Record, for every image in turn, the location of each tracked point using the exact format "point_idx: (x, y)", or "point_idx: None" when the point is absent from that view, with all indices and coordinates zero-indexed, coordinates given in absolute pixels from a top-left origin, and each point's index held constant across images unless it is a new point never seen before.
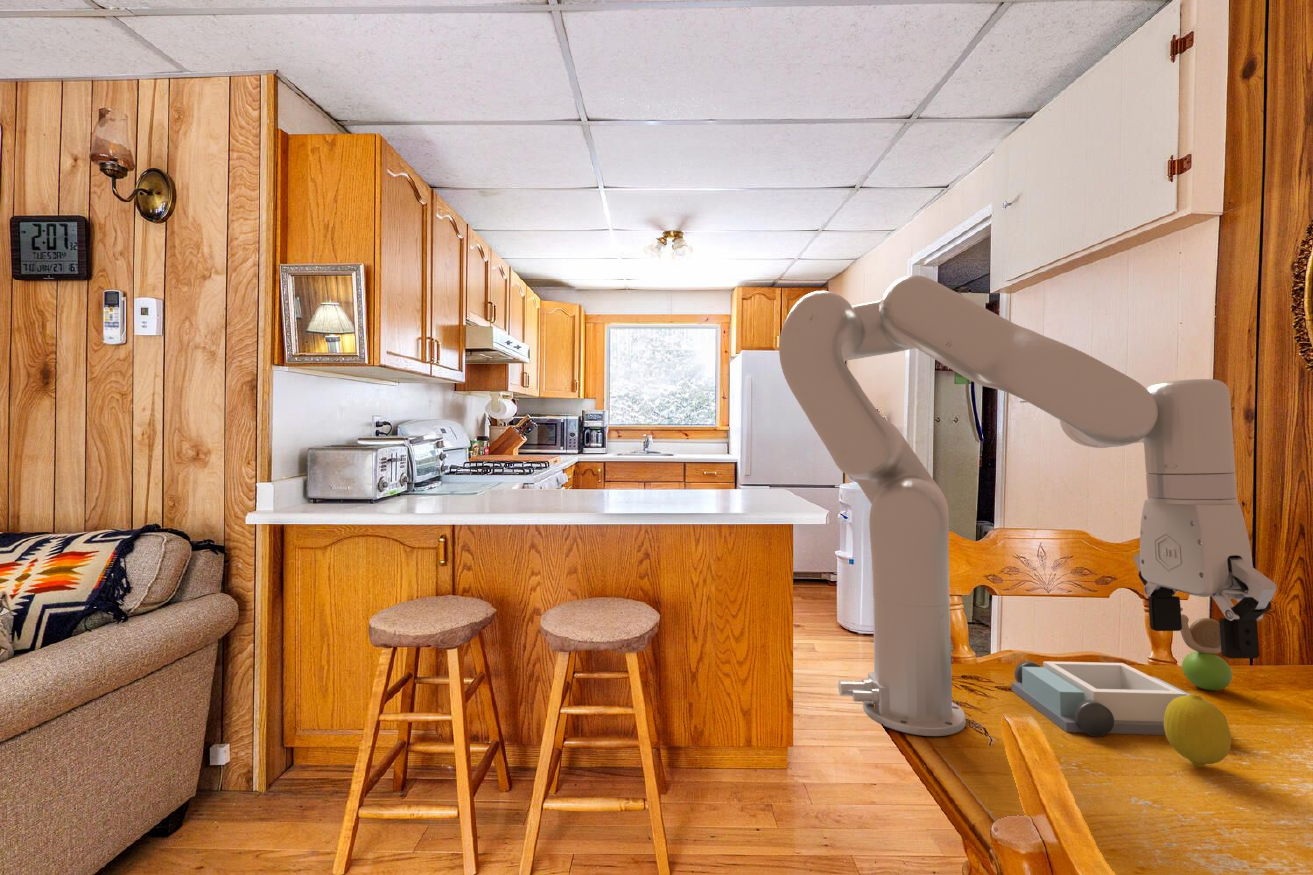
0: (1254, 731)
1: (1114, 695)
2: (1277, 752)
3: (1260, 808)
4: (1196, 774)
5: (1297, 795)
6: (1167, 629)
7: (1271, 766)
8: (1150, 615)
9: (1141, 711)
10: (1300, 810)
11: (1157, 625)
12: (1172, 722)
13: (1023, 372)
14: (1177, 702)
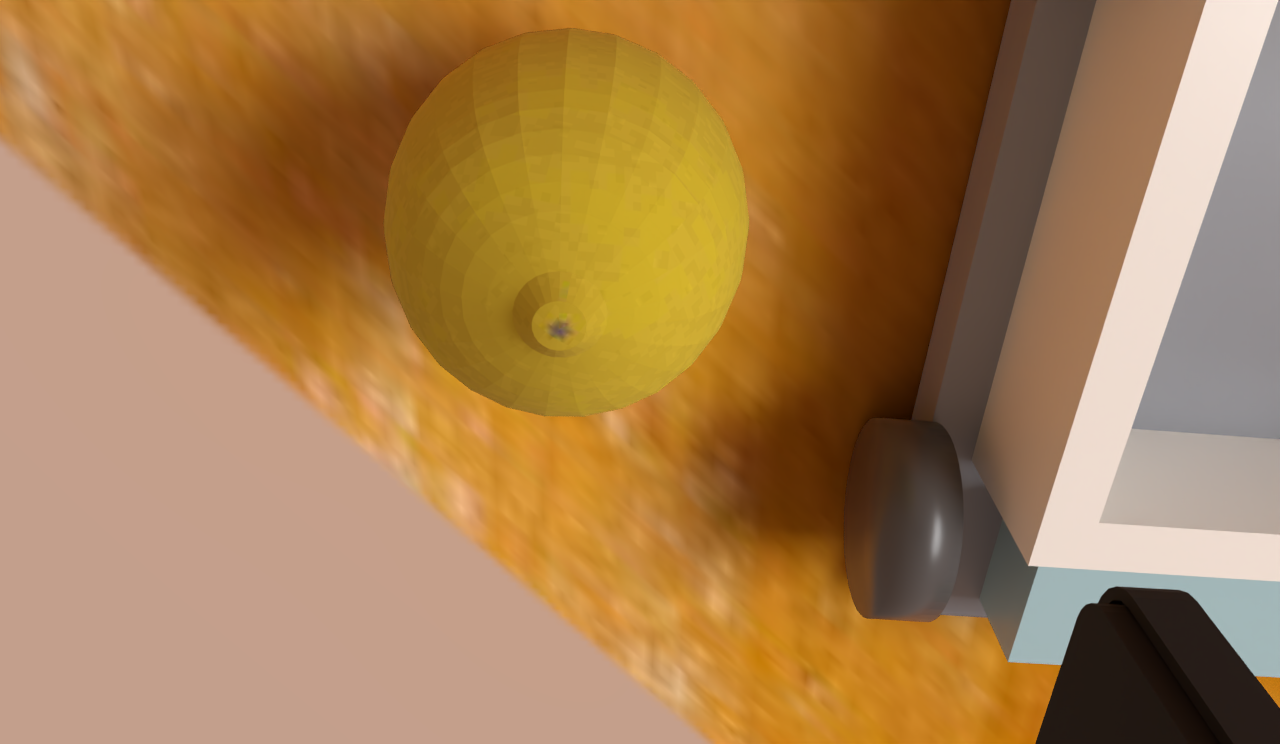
0: (908, 725)
1: (1165, 76)
2: (706, 645)
3: (147, 88)
4: None
5: (306, 381)
6: (1049, 727)
7: (577, 509)
8: (1274, 734)
9: (1060, 235)
10: (162, 270)
11: (1111, 661)
12: (562, 54)
13: None
14: (584, 165)
